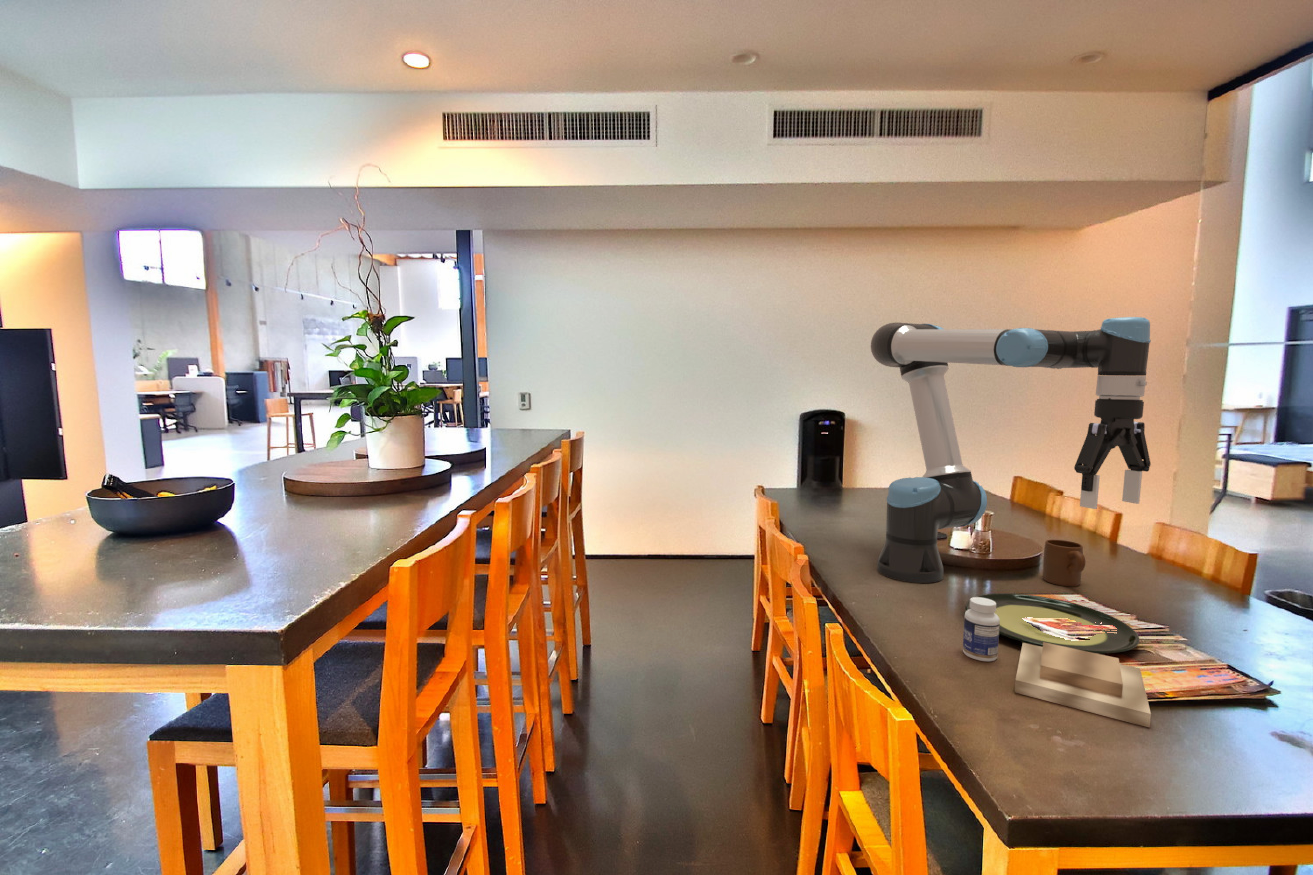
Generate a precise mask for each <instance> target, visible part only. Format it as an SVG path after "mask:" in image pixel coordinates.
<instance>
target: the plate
mask: <svg viewBox="0 0 1313 875" xmlns="http://www.w3.org/2000/svg"><path fill="white" fill-rule="evenodd" d="M975 597H982V598H987V599H990V600H993V601H995V602H996V612H994V613H995V614H996V615H998V617H999V619H1000V627H999V635H1002V636H1004V637H1007V638H1010V639H1012V640H1015V641H1018V642H1021V643H1027V644H1031V645H1036V646H1040V647H1043V642H1045V643H1050V644H1054V645H1059V646H1064V647H1068V648H1073V649H1077V650H1082V651H1087V652H1091V653H1096V654H1101V655H1104V654H1115V653H1123V652H1126V651H1130V650H1133V649H1135V648H1136V647H1137V646H1138V645H1139V644H1140V640H1141V639H1140V636H1139V634H1138V632H1137V631H1135V629H1134V628H1132V627H1131V626H1130V625H1128V624H1127V623H1125V622H1124V621H1122V620H1120V619H1118V618H1117V617H1115V616H1112V615H1110V614H1107V613H1105V612H1103V611H1100V610H1097V609H1094V608H1092V607H1089V606H1085V605H1082V604H1078V603H1074V602H1070V601H1066V600H1061V599H1056V598H1050V597H1046V596H1040V595H1033V594H1026V593H1025V594H1024V593H1023V594H1022V593H1000V592H998V593H985V594H980V595H977V596H975ZM964 608H965V612H966V611H967V610H969V609H971V608H970V599H969V600H968V601H967V602H966V603H965V607H964ZM1025 617H1026V618H1027V617H1033V618H1068V619H1070V620H1075V621H1076V622H1081V623H1082V625H1113V626H1115V627H1116V628H1117V629H1118V630H1117V631H1111V630H1110V631H1105V630H1103V631H1102V632H1105V633H1103V634H1096V635H1094V636H1092V637H1088V638H1085V639H1090V640H1085V641H1071V640H1065V639H1064V638H1060V637H1055V636H1052V635H1049V634H1046V633H1043V632H1042V631H1040V630H1038V629H1037V628H1035V627H1033V626H1032V625H1031V624H1029V623H1027V622H1026V621H1024V620H1023V619H1022V618H1025ZM1095 622H1096V623H1095ZM1101 622H1102V624H1100V623H1101ZM1096 629H1097V628H1096ZM1093 632H1100V631H1095V630H1094V631H1093ZM1107 632H1117V634H1114V633H1107Z"/></svg>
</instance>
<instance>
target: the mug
mask: <svg viewBox="0 0 1313 875" xmlns="http://www.w3.org/2000/svg"><path fill="white" fill-rule="evenodd" d="M1043 550H1044V551H1043V561H1042V562H1043V563H1042V564H1043V565H1042V578H1043V580H1044V581H1045V582H1047V583H1050V584H1052V585H1055V586H1056V585H1057V586H1061V587H1078V586H1080V584H1081V581H1082V572H1083V571H1084V570H1085V567H1086V557H1085V555H1084V554H1083V553H1084V547H1083V545H1082V544H1081V543H1078V542H1075V541H1070V540H1066V539H1065V540H1064V539H1046V540H1045V544H1044V548H1043Z"/></svg>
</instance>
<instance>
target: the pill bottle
mask: <svg viewBox="0 0 1313 875" xmlns="http://www.w3.org/2000/svg"><path fill="white" fill-rule="evenodd" d="M969 600H970V608H971V609H969V610H967V611H966V610H965V613H964V620H963V623H964V624H963V636H962V638H963V639H962V651H963V653H964V655H966V656H967V657H968V658H971V659H974V660H977V661H980V662H995V661H996V660H997V659H998V656H999V642H1000V640H999V637H1000V634H999V627H1000V619H999V617H998V615H996V614H995V613H994V612H996V602H995V601H993V600H990V599H987V598H982V597H976V596H973V597H971V598H970V599H969Z"/></svg>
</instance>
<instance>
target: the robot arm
mask: <svg viewBox="0 0 1313 875" xmlns="http://www.w3.org/2000/svg"><path fill="white" fill-rule="evenodd" d="M1151 342H1152V341H1151V322H1150V320H1149V319H1148V318H1146V317H1142V316H1127V317H1126V316H1124V317H1121V316H1120V317H1113V318H1105V319H1104V320H1103V321H1102V322H1101V326H1100V329H1094V330H1080V331H1079V330H1078V331H1076V330H1074V331H1073V330H1071V331H1066V330H1055V329H1054V330H1050V329H1047V330H1046V329H1037V328H1029V327H1028V328H1027V327H1018V328H1012V329H1011V328H1009V329H1008V328H1007V329H1006V328H985V329H984V328H974V329H973V328H971V329H970V328H968V329H967V328H966V329H965V328H963V329H962V328H961V329H960V328H955V329H954V328H951V329H950V328H949V329H945V328H943V327H941V326H939V325H934V324H932V323H931V324H930V323H910V322H909V323H907V322H891V323H890V322H889V323H886V324H885V325H883V326H881V327H879V328H878V329H877V330H876V331H875V332H874V333H873V336H872V337H871V341H870V351H871V354H872V357H873V358H874V359H875V360H876V362H878V363H879V364H881V365H883V366H885V367H888V368H889V367H890V368H899V371H900V376H901V379H902V380H904V381H905V382H906V383H908V386H909V391H910V395H911V399H912V404H913V406H912V407H913V410H914V416H915V420H916V424H917V428H918V434H919V440H920V443H921V450H922V453H923V454H922V455H923V459H924V464H925V473H924V474H923V475H922V476H921V477H920V476H916V477H903V478H899V479H898V478H897V479H896V480H894V481H891V483H890V484H889V486H888V491H887V493H888V494H887V496H886V526H885V527H886V528H885V541H884V544H883V546H882V549H881V551H880V554H879V556H878V559H877V564H876V570H877V572H878V574H881V575H882V576H885V577H887V578H890V579H893V580H897V581H902V582H908V583H917V584H918V583H919V584H920V583H921V584H928V583H929V584H930V583H931V584H932V583H937V582H940V581H942V580H943V578H944V571H945V570H944V565H943V563H942V558H941V555H940V552H939V548H938V531H939V530H942V529H949V528H951V529H952V528H960V527H961V528H962V527H966V526H969V525H971V524H975V523H977V522H978V521H980V519H981V518H982V517H983V516H984V514H985V513H986V510H987V507H988V497H987V492H986V490H985V488H984V487H983V486H982V485H980V484H979V482H977V481H976V480H974V479H973V477H972V476H973V475H972V471H971V469H969V468H968V467H966V466H964V464H963V461H962V456H961V452H960V446H959V442H958V438H957V431H956V428H955V423H954V418H953V414H952V410H951V405H950V403H951V402H950V399H949V395H948V391H947V386H946V380H945V374H946V373H947V372H948V370H949V363H950V364H951V363H952V364H953V363H954V364H967V365H968V364H969V365H988V366H989V365H990V366H991V365H992V366H1005V367H1006V366H1007V367H1015V368H1045V369H1054V370H1055V369H1057V370H1059V369H1060V370H1061V369H1072V368H1073V369H1077V368H1079V369H1080V368H1081V369H1082V368H1083V369H1084V368H1091V369H1092V368H1094V369H1096V368H1097V380H1096V389H1095V395H1096V396H1097V397H1098V398H1096V399H1095V401H1094V412H1093V413H1094V417H1096V418H1100V423H1098V422H1090V423H1089V424H1088V427H1087V434H1086V437H1085V439H1084V441H1083V444H1082V446H1081V449H1080V452H1079V454H1078V457H1077V460H1076V462H1075V465H1074V466H1073V467H1074V471H1075V472H1076V473H1077V474H1081V483H1080V484H1081V485H1080V486H1081V487H1080V499H1079V500H1080V501H1079V507H1081V508H1086V509H1090V510H1091V509H1092V510H1097V509H1098V502H1099V501H1098V500H1099V499H1098V498H1099V488H1100V477H1101V476H1100V475H1099V474H1098V472H1099V470H1100V469H1101V467H1102V465H1103V464H1104V462H1105V460H1106V459H1107V457H1108V455H1110V452H1111V451H1112V449H1115V448H1116V447H1118V448H1119V450H1120V453H1121V455H1122V457H1123V459H1124V462H1125V464H1126V466H1127V469H1125V470H1124V476H1123V485H1122V486H1123V488H1122V499H1121V502H1124V503H1130V504H1136V505H1137V504H1140V501H1141V500H1140V499H1141V498H1140V497H1141V489H1142V479H1143V472H1149V471H1150V467H1151V465H1152V464H1151V459H1150V458H1151V457H1150V454H1149V449H1148V445H1147V440H1146V436H1145V435H1146V434H1145V428H1146V427H1145V422H1142V421H1141V422H1140V421H1135V420H1140V419H1142V418H1143V414H1144V407H1145V406H1144V405H1145V401H1144V400H1143V399H1141V398H1143V397H1144V396H1145V392H1146V390H1145V389H1146V386H1147V385H1148V382H1147V381H1146V379H1147V367H1148V360H1149V359H1148V358H1149V350H1150V344H1151Z"/></svg>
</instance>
